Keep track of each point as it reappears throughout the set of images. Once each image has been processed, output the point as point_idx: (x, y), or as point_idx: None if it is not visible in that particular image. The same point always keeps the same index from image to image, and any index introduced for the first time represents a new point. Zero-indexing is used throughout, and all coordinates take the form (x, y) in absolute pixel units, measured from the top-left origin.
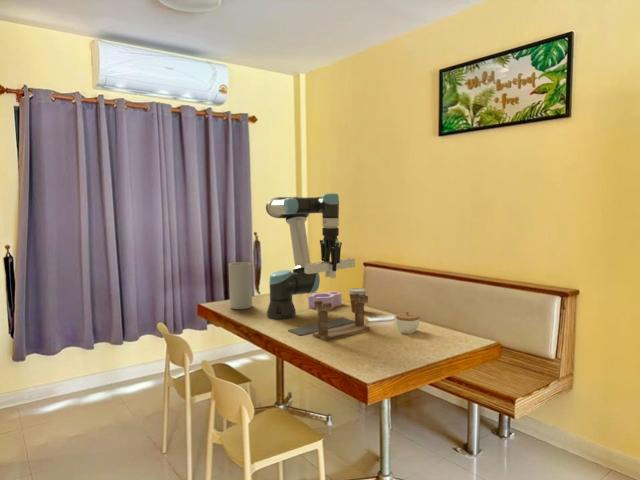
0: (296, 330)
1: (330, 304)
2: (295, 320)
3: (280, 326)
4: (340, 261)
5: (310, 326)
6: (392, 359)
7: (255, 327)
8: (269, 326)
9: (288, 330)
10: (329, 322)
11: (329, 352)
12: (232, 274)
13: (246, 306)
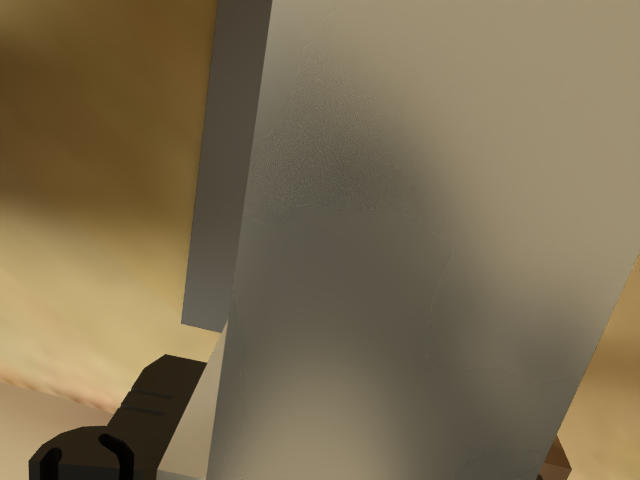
0: (228, 305)
1: (565, 473)
2: (31, 122)
3: (81, 279)
4: (581, 319)
5: (231, 194)
6: None
7: (6, 365)
8: (39, 313)
9: (189, 324)
10: (263, 27)
11: (603, 458)
12: None
13: None
